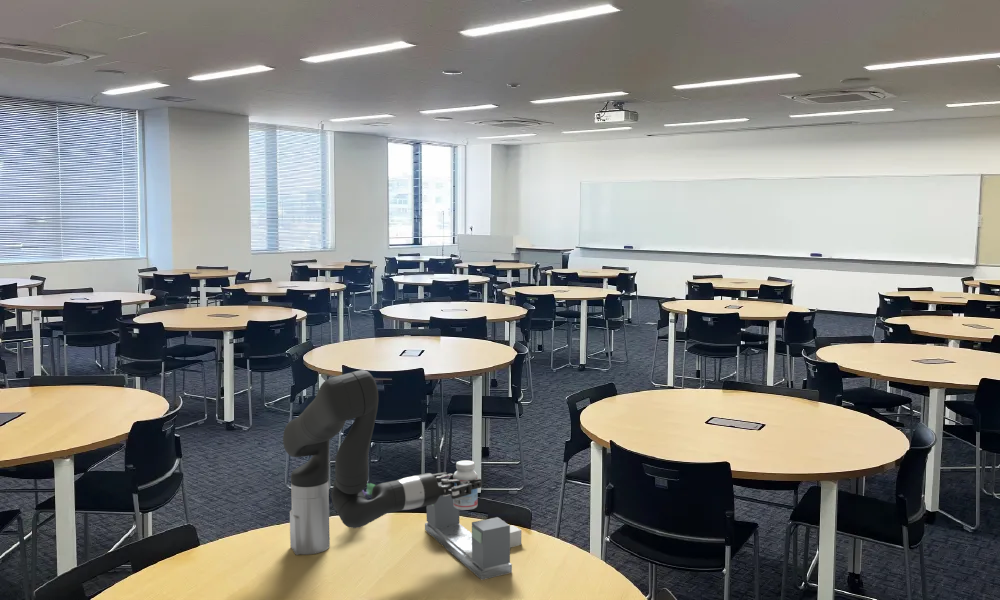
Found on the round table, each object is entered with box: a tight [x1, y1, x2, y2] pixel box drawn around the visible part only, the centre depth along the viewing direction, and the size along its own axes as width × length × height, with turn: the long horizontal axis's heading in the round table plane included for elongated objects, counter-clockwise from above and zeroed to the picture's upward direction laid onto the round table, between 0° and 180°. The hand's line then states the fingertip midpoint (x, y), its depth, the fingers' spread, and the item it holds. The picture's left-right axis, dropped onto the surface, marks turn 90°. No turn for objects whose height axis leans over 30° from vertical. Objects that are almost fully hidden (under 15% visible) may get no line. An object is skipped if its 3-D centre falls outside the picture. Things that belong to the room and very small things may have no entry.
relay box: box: [510, 524, 522, 549], centre depth 190 cm, size 6×4×4 cm, turn 125°
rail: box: [424, 522, 513, 580], centre depth 187 cm, size 8×34×2 cm, turn 28°
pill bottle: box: [453, 459, 479, 511], centre depth 186 cm, size 6×6×11 cm
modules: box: [426, 495, 511, 569], centre depth 187 cm, size 7×34×9 cm, turn 28°
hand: (473, 479), depth 187 cm, fingers closed on pill bottle, 6 cm apart
